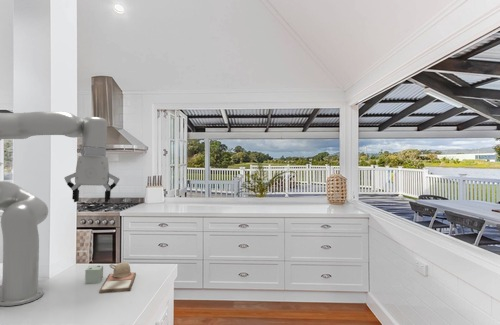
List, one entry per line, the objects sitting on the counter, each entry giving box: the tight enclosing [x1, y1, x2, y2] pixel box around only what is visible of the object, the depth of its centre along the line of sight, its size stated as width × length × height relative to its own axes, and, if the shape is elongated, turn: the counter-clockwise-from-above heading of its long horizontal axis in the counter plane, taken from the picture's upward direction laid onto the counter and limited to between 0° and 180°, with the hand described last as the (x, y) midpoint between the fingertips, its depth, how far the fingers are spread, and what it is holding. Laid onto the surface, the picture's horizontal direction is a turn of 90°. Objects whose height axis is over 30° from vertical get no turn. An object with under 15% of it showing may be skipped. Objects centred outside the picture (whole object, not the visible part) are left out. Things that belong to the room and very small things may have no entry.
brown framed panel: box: [98, 272, 137, 294], centre depth 115 cm, size 10×16×1 cm, turn 14°
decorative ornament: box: [109, 261, 132, 278], centre depth 119 cm, size 4×8×5 cm, turn 128°
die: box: [84, 264, 104, 285], centre depth 117 cm, size 5×5×5 cm
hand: (91, 201), depth 107 cm, fingers open, 9 cm apart
